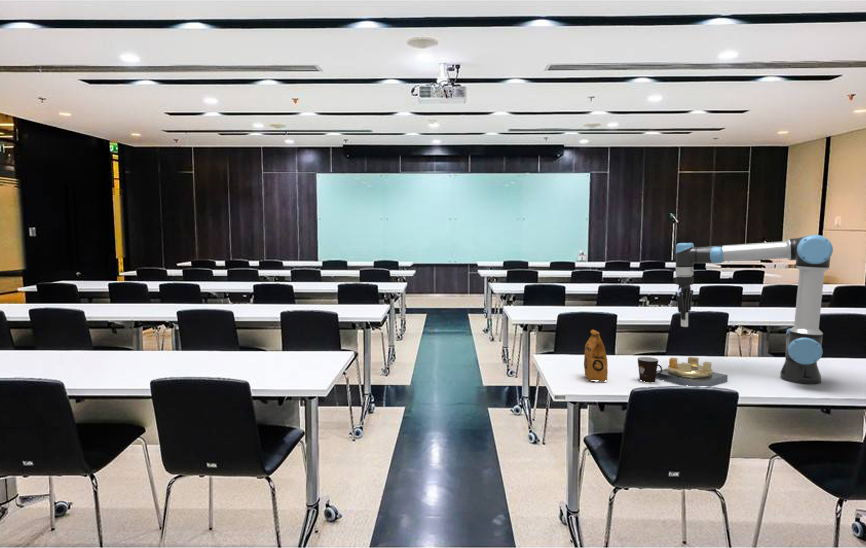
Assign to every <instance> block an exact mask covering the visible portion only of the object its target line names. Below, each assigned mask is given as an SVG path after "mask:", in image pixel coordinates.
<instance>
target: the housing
mask: <svg viewBox="0 0 866 548" xmlns="http://www.w3.org/2000/svg"><path fill="white" fill-rule="evenodd" d="M660 371H661V369H659V370H658V369H657V372H656V374H658V373H660ZM658 379H659V381H662V380H664V381H663V382H666V381H667V383H670V382H671V384H674V383H675V385H679V386H682V385H688V386H710V387H713V386H716V385H720V384H723V383H727V382H728V379H729V378H728V374H723V373H721V372H720V373H719V372H715V371H712V376H711V377H706V378H690V377H682V376H677V375H674V374H671V373H669V372H668V367H667V368H664V369H663V368H662V372H661V373H660V374H659V375H657V376H656V379H655V380H658Z"/></svg>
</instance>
